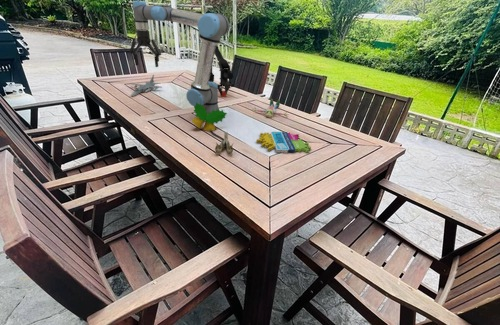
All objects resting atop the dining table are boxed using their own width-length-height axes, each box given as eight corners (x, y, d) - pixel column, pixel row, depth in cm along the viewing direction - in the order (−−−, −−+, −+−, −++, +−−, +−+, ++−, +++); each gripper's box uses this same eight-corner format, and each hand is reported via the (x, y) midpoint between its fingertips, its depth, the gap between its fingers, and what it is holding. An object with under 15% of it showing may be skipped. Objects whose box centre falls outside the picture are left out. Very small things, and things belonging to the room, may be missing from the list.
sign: (313, 150, 142) (258, 149, 139) (312, 153, 143) (258, 152, 140) (301, 132, 164) (254, 130, 161) (301, 134, 165) (254, 133, 162)
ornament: (218, 133, 171) (224, 110, 169) (221, 134, 163) (227, 111, 161) (186, 125, 162) (192, 101, 160) (189, 126, 155) (195, 101, 153)
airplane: (124, 86, 239) (122, 75, 233) (160, 84, 252) (158, 73, 247) (129, 98, 210) (126, 86, 205) (168, 95, 223) (167, 83, 218)
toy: (292, 100, 208) (288, 110, 182) (291, 109, 211) (287, 120, 186) (258, 96, 213) (250, 105, 187) (258, 105, 216) (249, 115, 190)
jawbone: (234, 135, 144) (233, 125, 135) (233, 160, 138) (232, 151, 129) (217, 135, 144) (216, 125, 135) (216, 160, 138) (214, 150, 129)
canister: (226, 96, 232) (227, 91, 230) (224, 97, 229) (224, 92, 227) (222, 95, 234) (222, 90, 232) (220, 96, 231) (220, 91, 228)
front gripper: (164, 31, 165) (167, 66, 175) (126, 28, 166) (131, 63, 177) (159, 31, 158) (163, 68, 168) (120, 28, 160) (126, 65, 170)
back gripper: (219, 79, 213) (219, 98, 220) (238, 78, 223) (237, 96, 231) (212, 77, 220) (212, 95, 228) (230, 75, 231) (230, 93, 238)
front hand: (147, 66), depth 173 cm, fingers open, 13 cm apart
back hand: (223, 95), depth 231 cm, fingers closed on canister, 4 cm apart
